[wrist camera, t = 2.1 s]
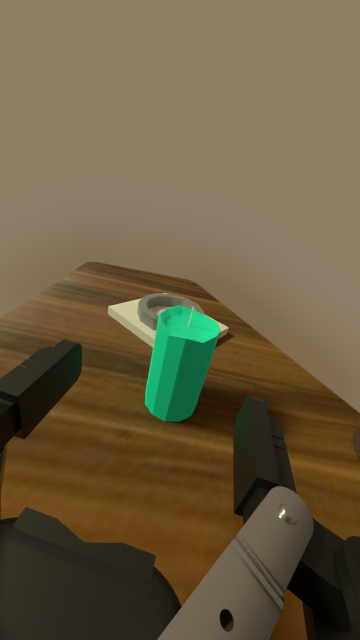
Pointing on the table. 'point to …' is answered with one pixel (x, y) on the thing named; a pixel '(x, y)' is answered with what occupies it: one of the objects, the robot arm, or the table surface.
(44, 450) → the table surface
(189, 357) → the candle
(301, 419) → the table surface
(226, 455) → the table surface
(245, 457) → the robot arm
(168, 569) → the table surface
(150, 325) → the jig plate
